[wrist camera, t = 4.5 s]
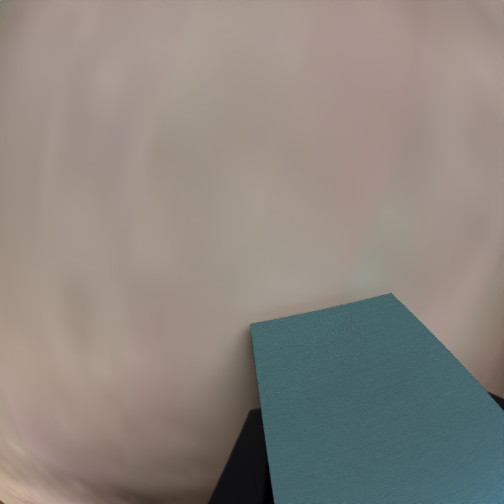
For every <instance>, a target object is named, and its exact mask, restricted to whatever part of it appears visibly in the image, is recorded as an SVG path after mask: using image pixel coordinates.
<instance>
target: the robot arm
mask: <svg viewBox="0 0 504 504" xmlns="http://www.w3.org/2000/svg"><path fill="white" fill-rule="evenodd" d="M487 393H488V394H489V395H490V396H491V397H492V398H493V399H494V400H495V402H496V403H497V404H498V405H499V406H500V407H501V409H502V410H503V411H504V399H503V398H501V397H499V396H496V395H494V394H492V393H489V392H487ZM207 504H274V497H273V490H272V483H271V476H270V469H269V462H268V455H267V448H266V440H265V433H264V426H263V419H262V411H261V408H258V409H252V410H250V411H249V413H248V415H247V418H246V420H245V422H244V425H243V427H242V429H241V432H240V434H239V436H238V438H237V441H236V443H235V445H234V447H233V450H232V452H231V454H230V456H229V459H228V461H227V463H226V465H225V467H224V469H223V472H222V474H221V476H220V478H219V480H218V482H217V484H216V486H215V489H214V491H213V493H212V495H211V497H210V499H209V501H208V503H207Z"/></svg>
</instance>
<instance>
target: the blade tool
mask: <svg viewBox="0 0 504 504" xmlns="http://www.w3.org/2000/svg"><path fill="white" fill-rule="evenodd" d="M250 327H251V335H252V343H253V351H254V358H255V366H256V374H257V381H258V389H259V396H260V404H261V411H262V419H263V426H264V433H265V440H266V448H267V455H268V462H269V469H270V476H271V483H272V490H273V497H274V504H504V411H503V410H502V409H501V407H500V406H499V405H498V404H497V403H496V402H495V400H494V399H493V398H492V397H491V396H490V395H489V394H488V393H487V391H486V390H485V389H484V388H483V387H482V386H481V385H480V384H479V382H478V381H477V380H476V379H475V378H474V377H473V376H472V375H471V374H470V373H469V371H468V370H467V369H466V368H465V367H464V366H463V365H462V364H461V363H460V362H459V361H458V360H457V359H456V358H455V357H454V355H453V354H452V353H451V352H450V351H449V350H448V349H447V348H446V347H445V346H444V345H443V344H442V343H441V342H440V341H439V340H438V339H437V338H436V337H435V336H434V335H433V334H432V333H431V332H430V331H429V330H428V329H427V328H426V327H425V326H424V325H423V324H422V323H421V322H420V321H419V320H418V319H417V318H416V317H415V316H414V315H413V314H412V313H411V312H410V311H409V310H408V309H407V308H406V307H405V306H404V305H403V304H402V303H401V302H400V301H399V300H398V299H397V298H396V297H395V296H394V295H393V294H392V293H390V294H386V295H382V296H378V297H374V298H370V299H366V300H362V301H358V302H353V303H349V304H345V305H341V306H336V307H332V308H327V309H323V310H318V311H314V312H309V313H304V314H299V315H294V316H289V317H284V318H279V319H274V320H269V321H264V322H258V323H253V324H250Z"/></svg>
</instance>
